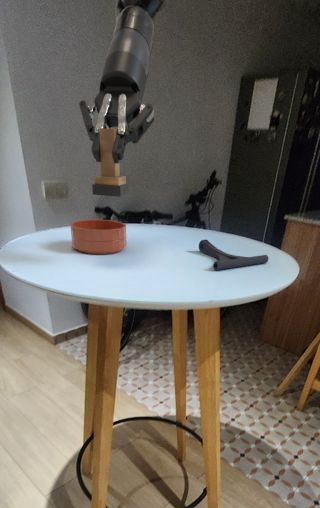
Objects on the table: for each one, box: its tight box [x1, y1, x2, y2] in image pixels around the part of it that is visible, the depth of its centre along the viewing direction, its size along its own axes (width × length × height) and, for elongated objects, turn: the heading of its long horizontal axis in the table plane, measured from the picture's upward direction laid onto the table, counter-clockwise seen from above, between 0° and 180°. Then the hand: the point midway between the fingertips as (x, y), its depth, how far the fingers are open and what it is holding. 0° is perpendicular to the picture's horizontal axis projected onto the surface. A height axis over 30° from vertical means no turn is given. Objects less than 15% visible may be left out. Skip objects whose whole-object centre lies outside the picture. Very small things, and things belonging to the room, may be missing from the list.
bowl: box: [69, 219, 127, 255], centre depth 83 cm, size 12×12×5 cm
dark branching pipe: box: [198, 239, 269, 271], centre depth 81 cm, size 14×15×3 cm
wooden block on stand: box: [91, 128, 130, 198], centre depth 64 cm, size 5×5×10 cm
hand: (106, 158), depth 62 cm, fingers closed on wooden block on stand, 2 cm apart
